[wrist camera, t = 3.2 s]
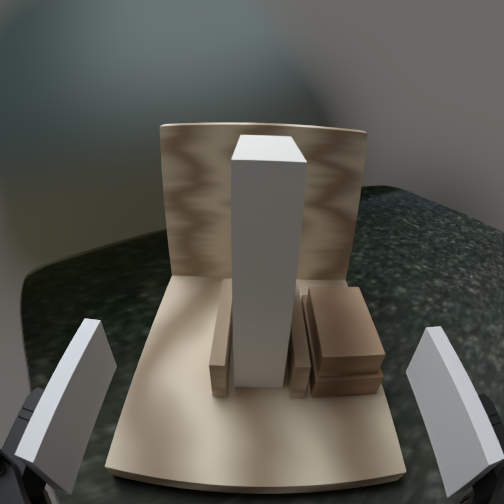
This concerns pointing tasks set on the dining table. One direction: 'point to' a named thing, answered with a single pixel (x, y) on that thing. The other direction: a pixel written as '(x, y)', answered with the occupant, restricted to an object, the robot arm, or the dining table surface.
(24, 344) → the dining table surface
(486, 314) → the dining table surface
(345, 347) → the walnut offcuts
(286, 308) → the white block
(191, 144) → the maple rack
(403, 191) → the dining table surface
